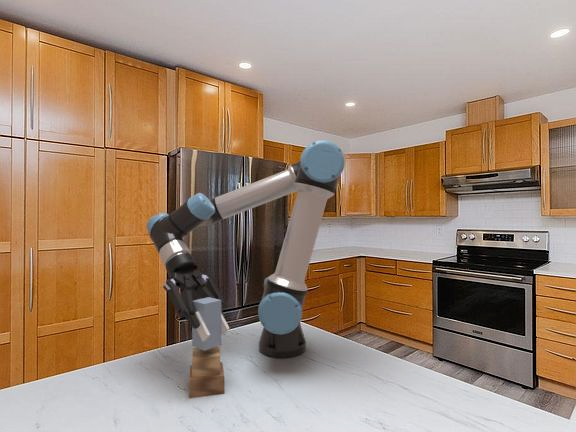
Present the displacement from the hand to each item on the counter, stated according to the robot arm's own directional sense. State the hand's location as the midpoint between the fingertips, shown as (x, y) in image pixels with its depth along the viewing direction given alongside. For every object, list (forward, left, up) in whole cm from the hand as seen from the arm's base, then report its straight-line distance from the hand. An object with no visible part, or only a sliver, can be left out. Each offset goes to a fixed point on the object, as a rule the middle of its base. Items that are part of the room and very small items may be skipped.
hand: (216, 334), depth 81 cm
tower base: (+2, -3, -14) cm, 15 cm away
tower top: (+2, -3, -10) cm, 10 cm away
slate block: (+2, -3, -3) cm, 5 cm away
